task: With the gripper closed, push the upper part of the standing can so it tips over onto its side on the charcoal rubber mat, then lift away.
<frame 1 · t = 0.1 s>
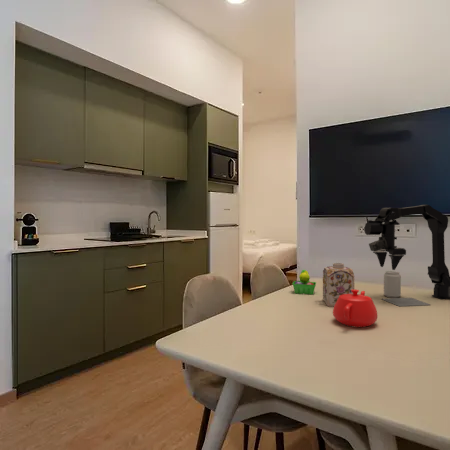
hand: (387, 268, 164), 15 cm above the table, fingers open, 9 cm apart
fruit basket: (304, 293, 180), on the table
mat: (405, 302, 160), on the table
can: (392, 296, 172), on the table
decorative jar: (337, 303, 158), on the table
teapot: (355, 322, 131), on the table
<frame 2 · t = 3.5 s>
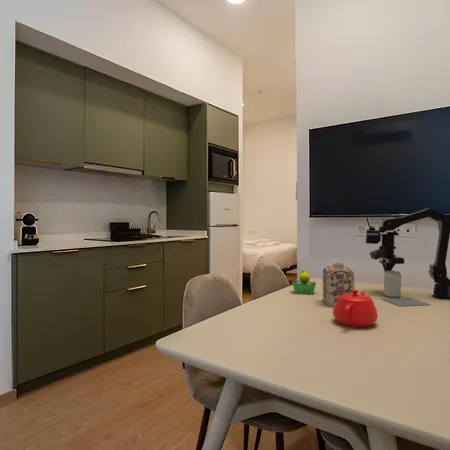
hand: (387, 275, 175), 9 cm above the table, fingers closed
can: (391, 296, 172), on the table, touching gripper
everything else where it was.
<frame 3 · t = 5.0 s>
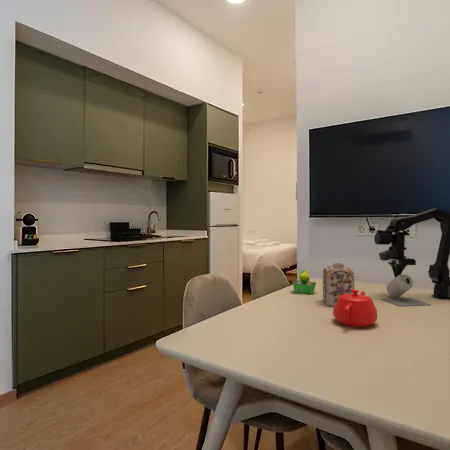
hand: (396, 277, 167), 10 cm above the table, fingers closed
can: (393, 290, 170), point 3 cm above the table, touching gripper
everything else where it was.
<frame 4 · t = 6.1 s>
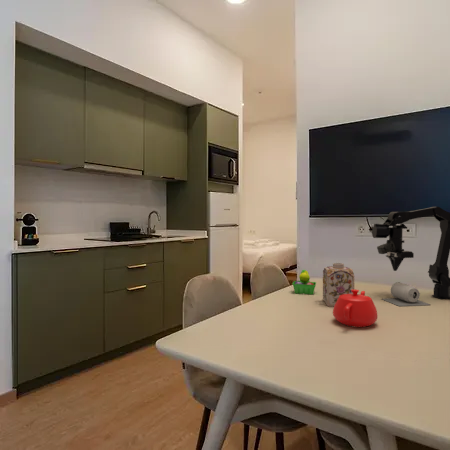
hand: (395, 270, 169), 13 cm above the table, fingers closed
can: (396, 289, 168), point 4 cm above the table, touching mat
everything else where it was.
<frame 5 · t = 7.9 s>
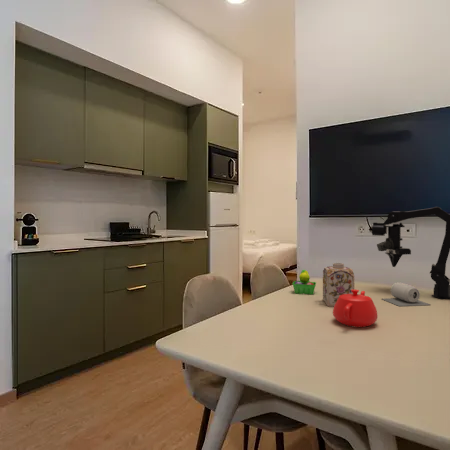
hand: (393, 266, 180), 13 cm above the table, fingers closed
nothing on the table moved.
at the end: can tilted 90°; can inside the target area (4.2 cm from its centre), point 4.0 cm above the table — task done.
